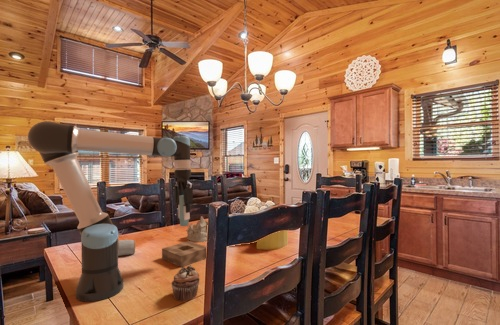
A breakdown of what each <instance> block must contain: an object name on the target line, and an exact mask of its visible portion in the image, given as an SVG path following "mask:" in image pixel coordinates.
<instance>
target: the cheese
mask: <svg viewBox="0 0 500 325" xmlns="http://www.w3.org/2000/svg"><path fill="white" fill-rule="evenodd" d="M255 243H256V242H254V243H253V244H255ZM288 244H289V230H288V231H280V232H277V233H274V234H271V235H269V236H267V237H265V238H263V239H261V240H258V241H257V243H256V250H277V249H282V248H285V247H286V246H288Z"/></svg>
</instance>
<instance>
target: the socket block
mask: <svg viewBox="0 0 500 325" xmlns="http://www.w3.org/2000/svg"><path fill="white" fill-rule="evenodd" d="M206 247H207V246H205V245H203V244H199V243H198V242H193V241H189V240H187V241H184V242H180V243H177V244H173V245H170V246H166V247H163V248H161V259H162V260H163V261H166V262H169V263H171V264H173V265H175V266H178V267H180V268H182V267H184V268H185V267H186V266H190V265H192V264H194V263H198V262H200V261H203V260H205V258H206ZM206 259H207V258H206Z"/></svg>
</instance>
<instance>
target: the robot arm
mask: <svg viewBox="0 0 500 325" xmlns="http://www.w3.org/2000/svg"><path fill="white" fill-rule="evenodd" d="M27 140H28V143H29V145H30V146H31V148H33V150H35V151H37V152H39V154H40V156H41V159H42V161H43V163H44V164H45V165H47V166H50V167H51V168H52V169H53V172H54V173H55V176H56V177H57V179H58V181H59V183H60V186H61V188H62V189H63V192H64V194H65V195H66V198H67V200H68V202H69V203H70V206H71V208H72V210H73V212H74V214H75V216H76V218H77V220H78V222H79V223H78V225H77V227H76V228H77V230H78V232H79V234H80V236H81V237H80V242H81V274H80V277H79V280H78V283H77V285H76V288H75V298H76V299H77V300H78V301H80V302H95V301H97V302H99V301H101V300H106V299H108V298H111V297H113V296H115V295H117V294H118V293H120V292H121V291H122V290H123V289H124V279H123V276H122V273H121V271H120V269H119V256H118V240H119V231H118V227H117V226H116V225H115V224H114V223H113V222H112V220H111V218H110V215H109V214H108V213H107V212H103V209H102V208H101V206H100V204H99V202H98V200H97V198H96V196H95V194H94V192H93V189H92V188H91V185H90V184H89V182H88V179H87V177H86V175H85V173H84V171H83V169H82V166H81V163H80V162H79V160H78V157H79V152H80V151H83V152H85V151H86V152H96V153H97V152H98V153H99V152H100V153H111V154H114V153H115V154H127V155H128V154H129V155H139V156H140V155H142V156H147V157H148V158H168V157H170V158H173V166H174V167H173V169H174V178H175V179H176V181H174V182H173V188H174V203H177V208H178V209H177V211H178V213H177V214H178V215H177V216H178V219H179V220H180V208H179V196H180V195H183V196H184V204H185V205H183V206H184V220H188V219H189V220H190V219H191V217H190V216H191V215H190V213H191V205H193V203H194V198H193V197H194V194H193V192H194V190H193V189H194V188H193V187H194V183H191V182H190V178H191V177H192V169H191V168H192V167H191V166H192V165H191V140H190V137H189V136H186V135H185V136H184V135H176V136H173V138H171V137H157V136H156V137H155V136H150V135H149V136H146V135H139V134H138V135H137V134H130V133H129V134H128V133H119V132H110V131H102V130H101V131H99V130H93V129H92V130H91V129H84V128H83V129H82V128H78V126H76V125H71V124H65V123H59V122H55V121H50V120H49V121H48V120H46V121H41V122H38V123H35V124H34V125H33V126H32V127H30V129H29V130H28V132H27Z"/></svg>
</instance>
